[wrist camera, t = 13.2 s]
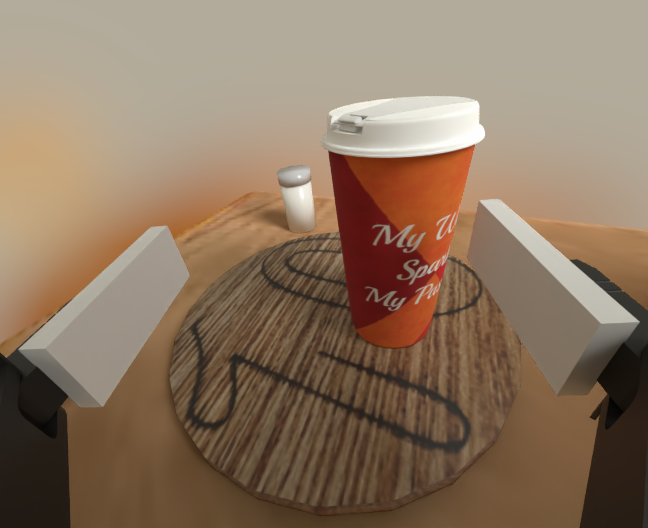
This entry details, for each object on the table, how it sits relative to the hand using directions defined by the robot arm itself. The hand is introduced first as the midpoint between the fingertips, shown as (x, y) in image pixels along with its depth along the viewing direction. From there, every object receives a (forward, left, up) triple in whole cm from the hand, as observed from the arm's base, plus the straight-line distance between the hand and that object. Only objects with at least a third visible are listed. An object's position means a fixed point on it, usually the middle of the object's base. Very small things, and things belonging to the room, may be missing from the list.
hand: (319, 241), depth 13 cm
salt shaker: (+4, -23, -11) cm, 25 cm away
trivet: (0, -6, -12) cm, 13 cm away
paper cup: (-4, -4, -10) cm, 12 cm away
